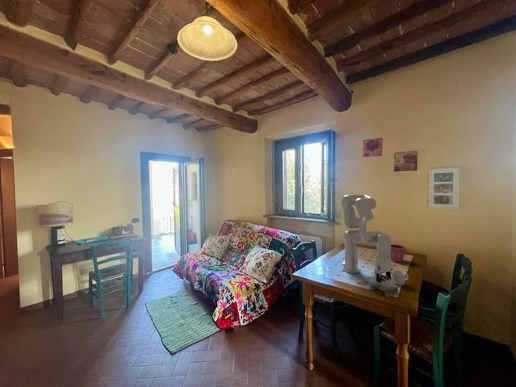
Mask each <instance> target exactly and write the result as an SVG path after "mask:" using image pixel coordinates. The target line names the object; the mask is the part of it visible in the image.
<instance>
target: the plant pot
mask: <svg viewBox="0 0 516 387" xmlns="http://www.w3.org/2000/svg"><path fill="white" fill-rule="evenodd" d="M405 253H407V246H405V245H402V244H396V243H393V244H391V262H396V263H403V261H404V259H405V255H406V254H405Z"/></svg>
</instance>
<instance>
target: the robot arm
mask: <svg viewBox="0 0 516 387" xmlns="http://www.w3.org/2000/svg"><path fill="white" fill-rule="evenodd" d="M341 206H342V210H343V218H344V219H343V220H344V227H345V228H346V229H348V230H346V231H344V233H343V234H342V235H343V241H344V242H343V243H344V261H342V262H341V265H342V266H343V267H342V270H343V271H344V272H346V273H350V274H358V273H360V272H361V268H359V248H358V246H357V245H356V243H365V244H376V256H375V265H374V266H375V267H374V269H373V271H374V275H375V274H376V282H379V283H382V277H381V275H382V274H385V276H388V277H391V278H392V270H393V267H394V265H393V264H392V261H391V242H392V241H391V240H392V239H391V235H390V234H388V233H384V232H382V231H379V230H377V231H368V228H367V223H368V222H371V221H372V220H373V219H374V212H373V211H372V210H374V209H376V207H377V201H376V200H375V199H374V198H373V197H372V196H369V195H366V194H364V193H362V194H359V193H358V194H354V193H353V194H346V195H344V196H343V197H342V198H341ZM354 207H355V208H356V209H355V208H354ZM356 210H357V213H358V215H356ZM349 229H352V230H349ZM356 229H357V230H356ZM379 273H380V274H379Z"/></svg>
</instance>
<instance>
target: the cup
mask: <svg viewBox="0 0 516 387" xmlns="http://www.w3.org/2000/svg"><path fill="white" fill-rule="evenodd" d="M391 272H392V273H391V278H394V285H396V286H397V285H398V286H404V285H405V282H406V281H409V274H408V273H406V272H405V271H403V270H398V269H392V271H391Z"/></svg>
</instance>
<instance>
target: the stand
mask: <svg viewBox="0 0 516 387" xmlns="http://www.w3.org/2000/svg"><path fill="white" fill-rule="evenodd" d="M369 288H370V289H369V290H370V291H376V290H381V291H383V292H384V296H385V297H387V298H390V297H392V296H394V295H396V294H399V292H398V291H399V287H398V286H397V285H394V287H392V288H390V289H387V288H385V287H383V286H380V285H378V284H375V283H373V281H372V282H371V283H369Z"/></svg>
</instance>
